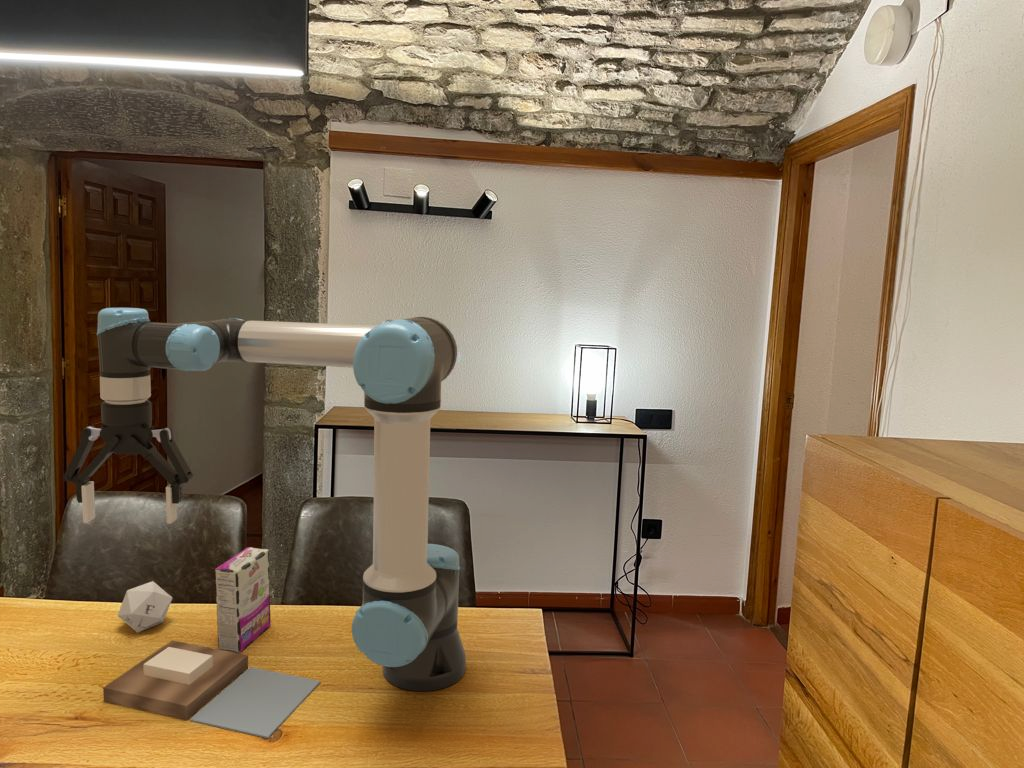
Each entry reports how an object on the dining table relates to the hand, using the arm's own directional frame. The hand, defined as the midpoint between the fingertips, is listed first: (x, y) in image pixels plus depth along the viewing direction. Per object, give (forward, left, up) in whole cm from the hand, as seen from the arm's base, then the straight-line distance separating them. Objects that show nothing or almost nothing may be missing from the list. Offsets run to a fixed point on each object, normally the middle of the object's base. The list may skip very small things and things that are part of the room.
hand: (130, 520), depth 124 cm
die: (+9, -13, -28) cm, 32 cm away
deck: (-11, +2, -27) cm, 29 cm away
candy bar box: (-12, -15, -28) cm, 33 cm away
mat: (-26, +2, -27) cm, 38 cm away
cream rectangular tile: (-11, +2, -25) cm, 27 cm away
